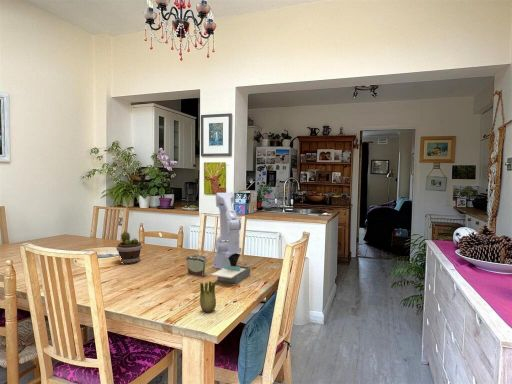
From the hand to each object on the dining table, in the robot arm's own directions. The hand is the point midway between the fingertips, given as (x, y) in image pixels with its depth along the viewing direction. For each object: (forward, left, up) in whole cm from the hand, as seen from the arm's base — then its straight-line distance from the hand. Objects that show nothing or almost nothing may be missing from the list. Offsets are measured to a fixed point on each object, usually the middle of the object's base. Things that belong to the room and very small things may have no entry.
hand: (233, 267), depth 169 cm
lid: (0, -5, -1) cm, 5 cm away
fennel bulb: (+10, -40, -6) cm, 41 cm away
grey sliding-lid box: (0, +1, -6) cm, 6 cm away
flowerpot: (-71, -2, -6) cm, 71 cm away
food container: (-20, -3, -6) cm, 21 cm away
